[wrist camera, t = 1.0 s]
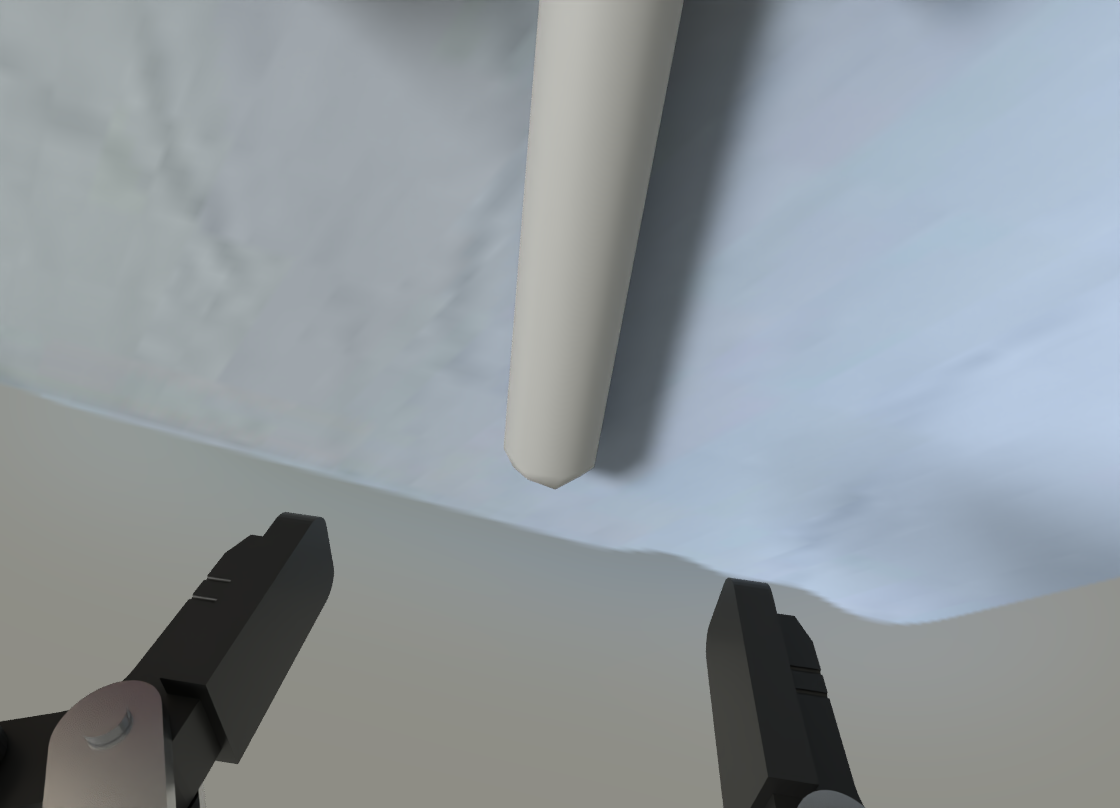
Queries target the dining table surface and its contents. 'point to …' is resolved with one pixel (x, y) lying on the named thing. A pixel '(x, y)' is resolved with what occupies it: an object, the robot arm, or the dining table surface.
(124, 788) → the robot arm
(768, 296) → the dining table surface
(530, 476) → the tube
